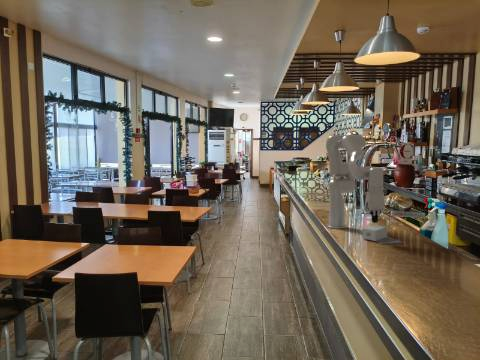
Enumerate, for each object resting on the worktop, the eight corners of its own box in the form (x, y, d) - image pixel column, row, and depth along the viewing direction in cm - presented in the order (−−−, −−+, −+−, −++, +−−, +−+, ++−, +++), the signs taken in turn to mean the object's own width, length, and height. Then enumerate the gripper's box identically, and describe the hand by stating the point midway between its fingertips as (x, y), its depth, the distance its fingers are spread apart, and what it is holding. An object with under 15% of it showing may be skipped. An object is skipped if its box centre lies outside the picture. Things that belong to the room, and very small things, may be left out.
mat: (365, 237, 216) (365, 236, 216) (384, 236, 219) (384, 235, 219) (382, 244, 201) (382, 243, 201) (402, 243, 204) (402, 242, 204)
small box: (374, 241, 206) (387, 237, 214) (375, 230, 205) (387, 226, 213) (362, 238, 212) (374, 235, 220) (362, 227, 211) (375, 224, 219)
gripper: (383, 188, 211) (382, 220, 213) (359, 189, 208) (359, 221, 209) (391, 190, 204) (390, 223, 206) (367, 191, 200) (366, 224, 202)
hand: (374, 222), depth 207 cm, fingers closed
